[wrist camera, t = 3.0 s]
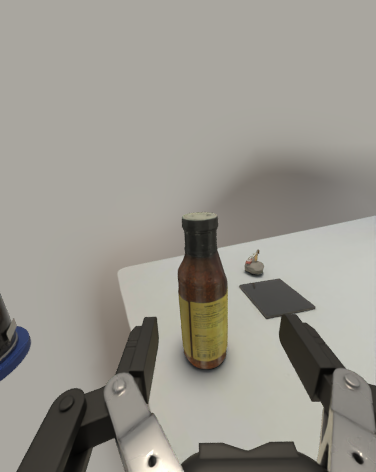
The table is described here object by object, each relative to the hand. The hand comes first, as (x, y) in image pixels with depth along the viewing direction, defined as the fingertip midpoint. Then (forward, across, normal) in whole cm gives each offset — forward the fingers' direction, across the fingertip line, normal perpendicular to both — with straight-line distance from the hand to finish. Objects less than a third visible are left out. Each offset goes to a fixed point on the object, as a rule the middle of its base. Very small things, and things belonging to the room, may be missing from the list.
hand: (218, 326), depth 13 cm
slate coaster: (+23, -15, +15) cm, 31 cm away
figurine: (+33, -14, +15) cm, 39 cm away
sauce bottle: (+11, 0, +15) cm, 19 cm away
